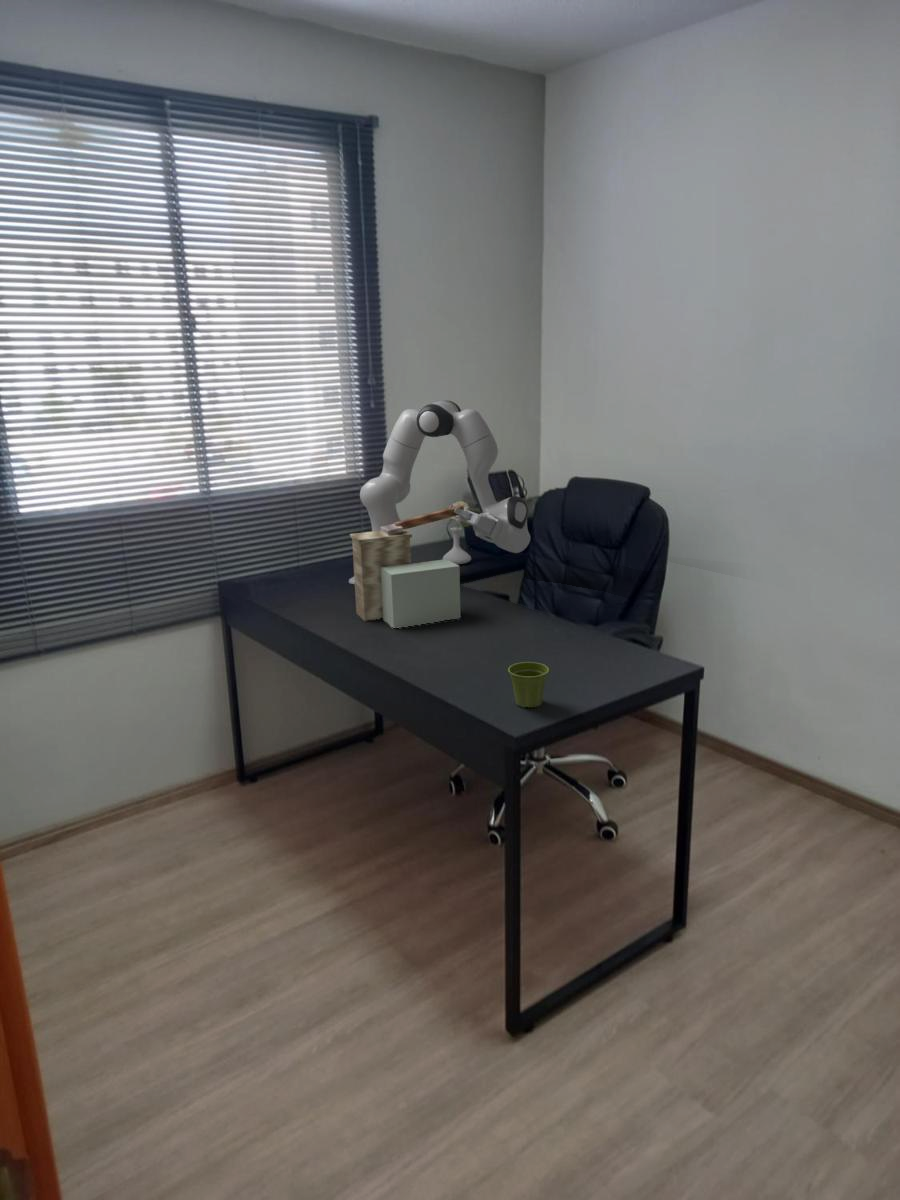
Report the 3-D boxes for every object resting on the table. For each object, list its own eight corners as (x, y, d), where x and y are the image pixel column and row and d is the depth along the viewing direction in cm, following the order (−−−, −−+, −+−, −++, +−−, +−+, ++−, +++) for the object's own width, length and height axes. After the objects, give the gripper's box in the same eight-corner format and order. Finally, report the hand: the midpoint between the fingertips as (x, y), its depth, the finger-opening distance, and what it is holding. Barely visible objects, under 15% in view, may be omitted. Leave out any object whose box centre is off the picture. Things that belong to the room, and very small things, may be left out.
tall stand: (404, 606, 274) (401, 528, 267) (415, 614, 265) (411, 534, 258) (354, 613, 268) (349, 533, 260) (363, 621, 259) (359, 540, 252)
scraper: (458, 511, 271) (457, 504, 270) (467, 514, 265) (466, 507, 264) (381, 531, 263) (379, 524, 262) (388, 535, 256) (387, 528, 256)
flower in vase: (436, 563, 329) (434, 500, 322) (457, 558, 336) (456, 496, 329) (459, 568, 319) (457, 504, 312) (480, 563, 327) (479, 500, 320)
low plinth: (448, 610, 268) (446, 559, 264) (460, 618, 259) (459, 565, 255) (383, 620, 260) (380, 567, 255) (393, 629, 251) (391, 574, 247)
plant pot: (532, 715, 190) (532, 679, 187) (500, 704, 196) (500, 670, 193) (556, 702, 197) (556, 667, 194) (524, 692, 203) (524, 658, 200)
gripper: (477, 512, 282) (444, 495, 275) (504, 522, 263) (469, 504, 257) (469, 529, 282) (435, 512, 276) (495, 540, 264) (460, 522, 258)
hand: (452, 508), depth 266 cm, fingers closed on scraper, 2 cm apart
